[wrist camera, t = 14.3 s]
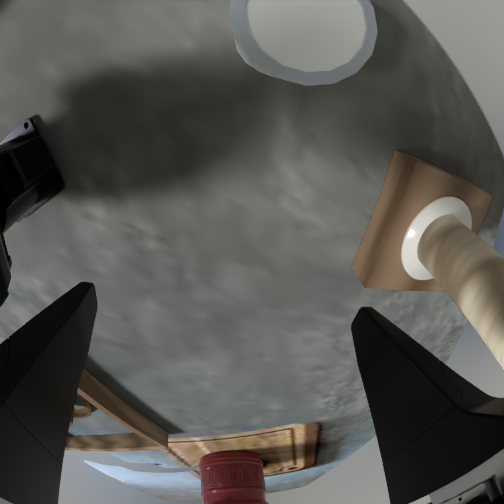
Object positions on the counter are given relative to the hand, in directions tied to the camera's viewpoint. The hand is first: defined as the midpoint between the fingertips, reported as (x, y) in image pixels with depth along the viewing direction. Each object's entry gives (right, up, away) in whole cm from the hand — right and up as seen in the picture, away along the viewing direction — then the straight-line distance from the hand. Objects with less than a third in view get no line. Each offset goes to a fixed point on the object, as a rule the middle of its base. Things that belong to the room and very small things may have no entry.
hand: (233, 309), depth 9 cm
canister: (-4, -41, +41) cm, 58 cm away
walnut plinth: (+16, +4, +15) cm, 22 cm away
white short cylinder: (+2, +16, +6) cm, 17 cm away
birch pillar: (+16, +3, +12) cm, 20 cm away
